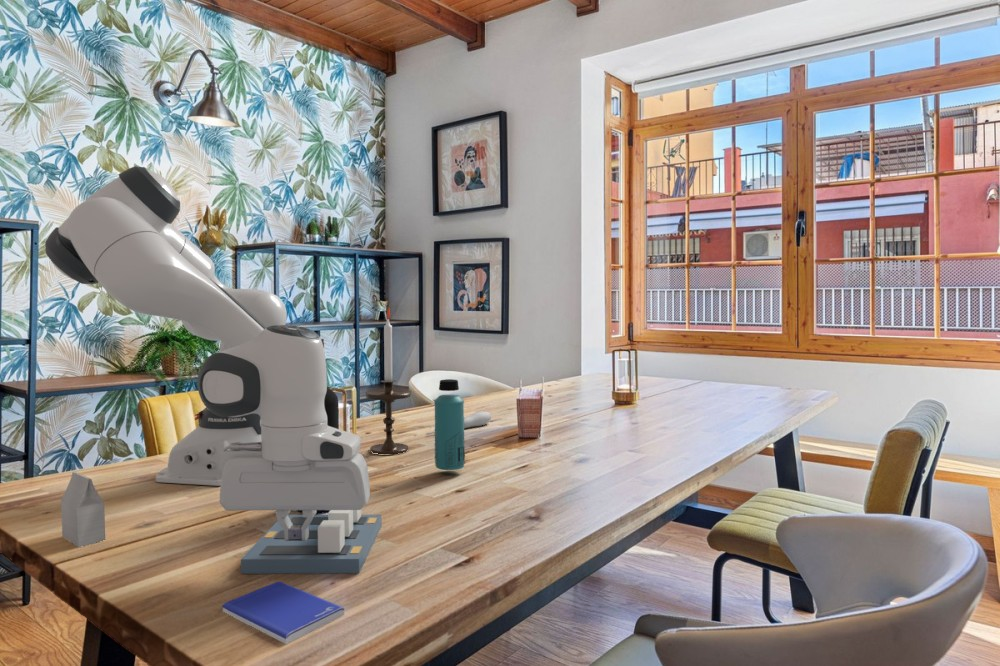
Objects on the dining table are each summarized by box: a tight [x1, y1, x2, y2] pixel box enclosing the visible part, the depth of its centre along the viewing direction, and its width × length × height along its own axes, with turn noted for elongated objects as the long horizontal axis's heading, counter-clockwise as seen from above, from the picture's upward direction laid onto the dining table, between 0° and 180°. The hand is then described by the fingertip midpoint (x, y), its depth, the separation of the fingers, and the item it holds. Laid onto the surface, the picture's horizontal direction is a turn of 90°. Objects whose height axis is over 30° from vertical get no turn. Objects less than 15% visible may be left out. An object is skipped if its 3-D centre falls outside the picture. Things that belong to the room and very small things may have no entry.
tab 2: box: [318, 520, 345, 553], centre depth 92 cm, size 3×3×4 cm
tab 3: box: [353, 509, 362, 522], centre depth 104 cm, size 3×3×4 cm
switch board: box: [240, 514, 383, 575], centre depth 98 cm, size 16×18×2 cm
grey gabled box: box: [60, 471, 107, 548], centre depth 101 cm, size 4×7×10 cm, turn 51°
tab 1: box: [327, 510, 353, 537], centre depth 98 cm, size 3×3×4 cm
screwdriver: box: [425, 410, 492, 436], centre depth 184 cm, size 5×25×4 cm, turn 138°
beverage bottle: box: [433, 378, 466, 471], centre depth 139 cm, size 6×7×20 cm
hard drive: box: [222, 581, 346, 645], centre depth 78 cm, size 2×8×12 cm
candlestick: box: [365, 306, 412, 455], centre depth 158 cm, size 11×11×35 cm
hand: (296, 539), depth 92 cm, fingers closed
